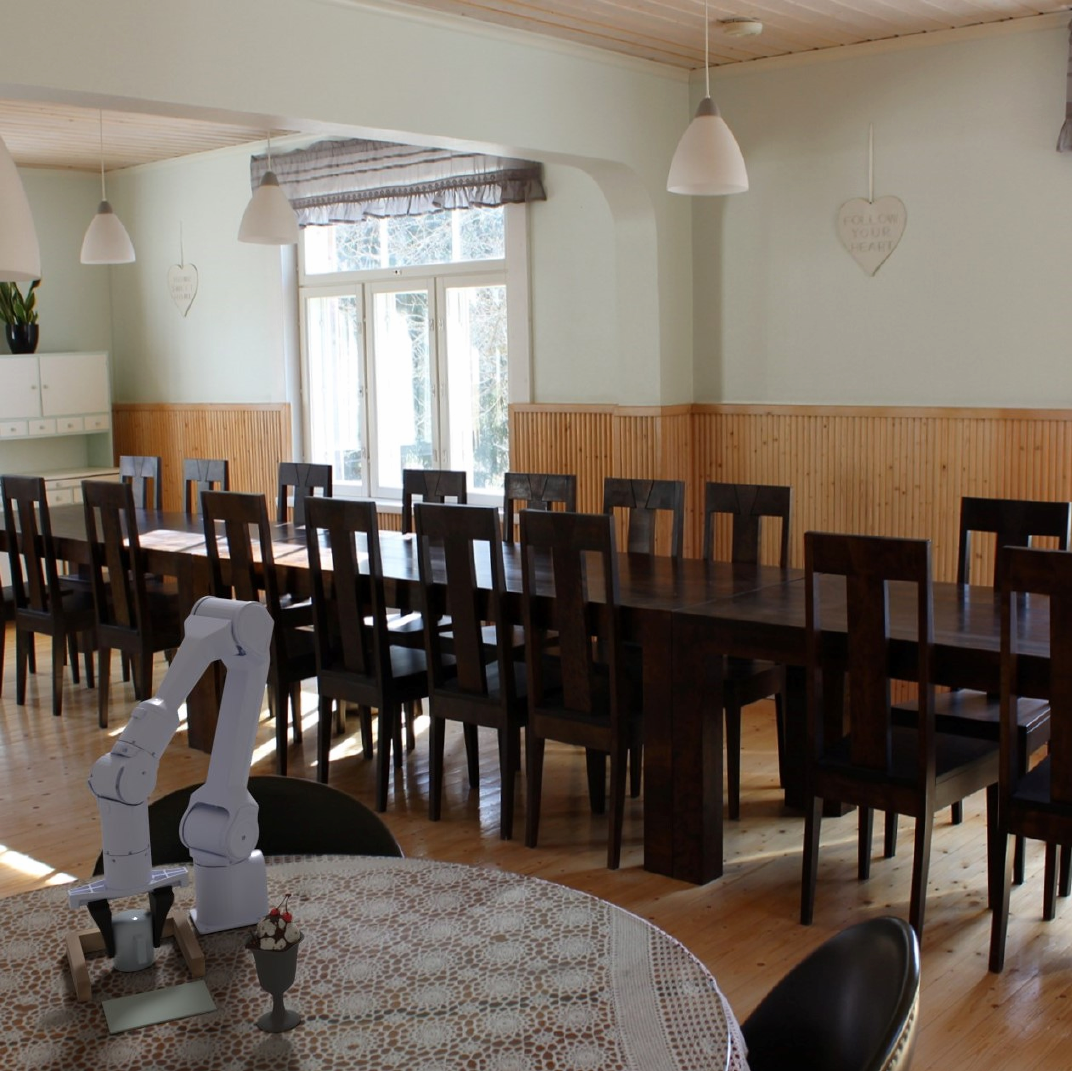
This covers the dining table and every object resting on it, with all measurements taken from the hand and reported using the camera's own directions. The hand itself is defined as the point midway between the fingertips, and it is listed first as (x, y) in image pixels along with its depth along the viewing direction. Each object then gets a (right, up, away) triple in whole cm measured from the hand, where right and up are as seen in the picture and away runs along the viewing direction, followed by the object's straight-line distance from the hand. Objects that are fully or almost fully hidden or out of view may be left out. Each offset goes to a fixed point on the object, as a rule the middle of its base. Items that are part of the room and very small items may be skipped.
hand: (133, 949), depth 165 cm
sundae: (+22, -4, -15) cm, 27 cm away
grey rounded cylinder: (0, -2, 0) cm, 2 cm away
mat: (+6, -3, -11) cm, 13 cm away
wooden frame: (0, -2, 0) cm, 2 cm away
